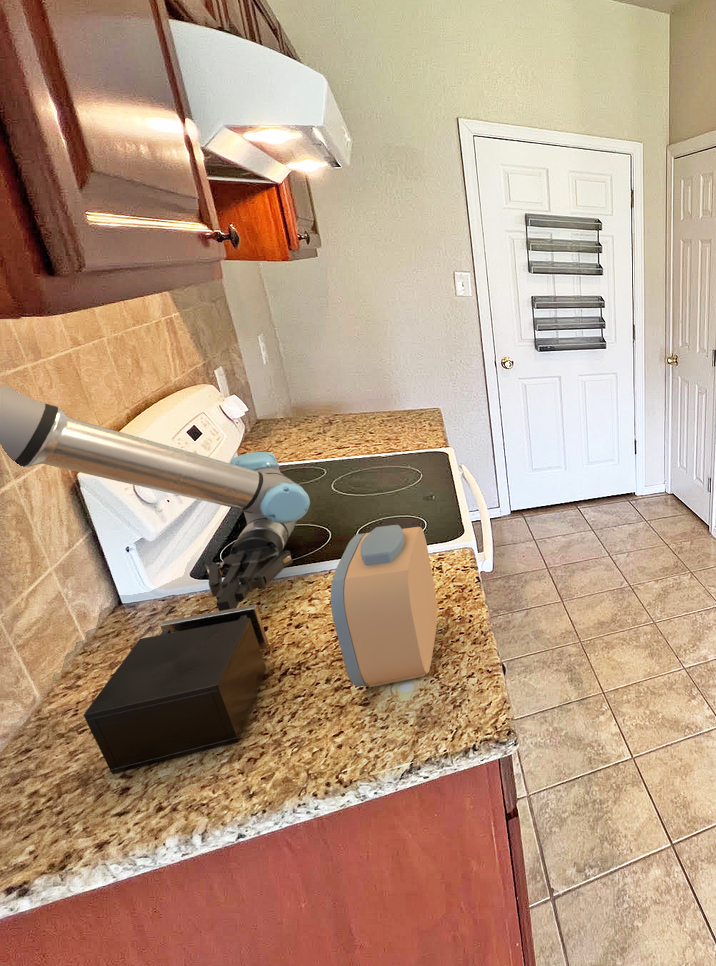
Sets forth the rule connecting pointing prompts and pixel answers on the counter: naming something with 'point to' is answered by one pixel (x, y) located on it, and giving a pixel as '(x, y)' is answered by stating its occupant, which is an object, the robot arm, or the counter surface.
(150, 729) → the cabinet
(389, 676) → the alarm clock
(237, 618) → the drawer
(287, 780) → the counter surface
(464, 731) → the counter surface
